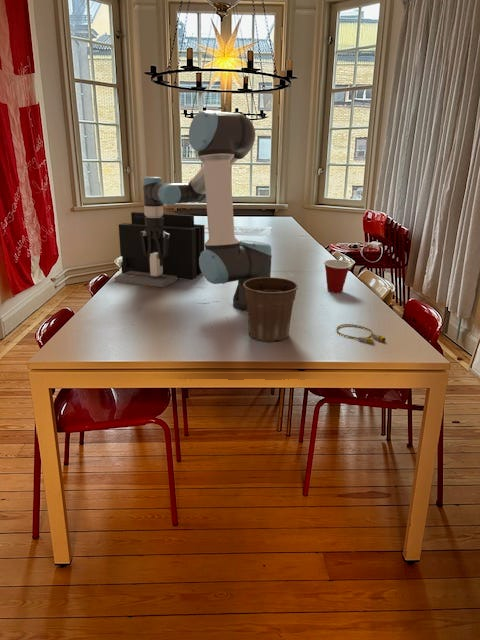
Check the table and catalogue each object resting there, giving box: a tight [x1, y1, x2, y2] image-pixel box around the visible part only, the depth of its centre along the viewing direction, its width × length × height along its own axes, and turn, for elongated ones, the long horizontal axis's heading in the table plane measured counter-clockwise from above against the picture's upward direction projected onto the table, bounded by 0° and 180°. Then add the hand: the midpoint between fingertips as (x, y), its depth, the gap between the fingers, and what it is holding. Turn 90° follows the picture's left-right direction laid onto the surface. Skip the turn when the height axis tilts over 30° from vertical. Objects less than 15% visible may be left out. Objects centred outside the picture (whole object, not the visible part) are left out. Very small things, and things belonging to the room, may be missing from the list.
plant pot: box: [243, 276, 299, 343], centre depth 139 cm, size 16×16×16 cm
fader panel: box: [114, 271, 178, 288], centre depth 198 cm, size 12×23×2 cm, turn 70°
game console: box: [118, 211, 206, 281], centre depth 216 cm, size 35×30×27 cm
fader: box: [150, 252, 163, 278], centre depth 195 cm, size 6×3×10 cm, turn 160°
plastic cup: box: [323, 259, 352, 294], centre depth 187 cm, size 11×11×12 cm
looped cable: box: [336, 323, 386, 345], centre depth 143 cm, size 12×16×2 cm
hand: (156, 272), depth 196 cm, fingers closed on fader, 3 cm apart
